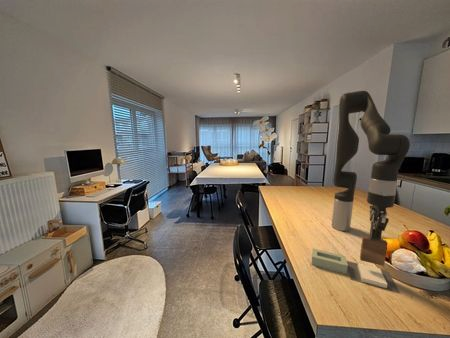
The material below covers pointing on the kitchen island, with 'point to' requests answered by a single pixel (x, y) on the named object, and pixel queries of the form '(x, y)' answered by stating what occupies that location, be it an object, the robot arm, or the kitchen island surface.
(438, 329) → the kitchen island surface
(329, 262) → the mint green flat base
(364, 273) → the tile
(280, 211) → the kitchen island surface
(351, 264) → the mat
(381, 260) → the brown wooden block
